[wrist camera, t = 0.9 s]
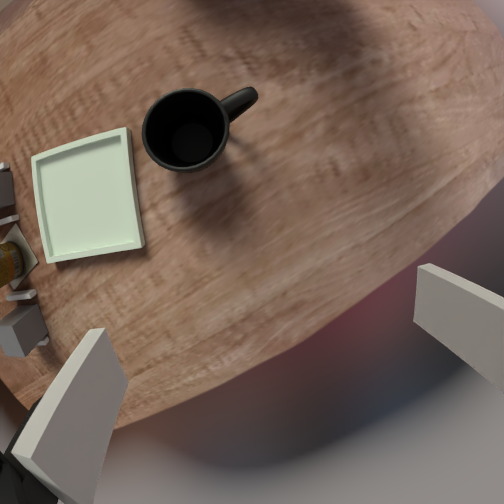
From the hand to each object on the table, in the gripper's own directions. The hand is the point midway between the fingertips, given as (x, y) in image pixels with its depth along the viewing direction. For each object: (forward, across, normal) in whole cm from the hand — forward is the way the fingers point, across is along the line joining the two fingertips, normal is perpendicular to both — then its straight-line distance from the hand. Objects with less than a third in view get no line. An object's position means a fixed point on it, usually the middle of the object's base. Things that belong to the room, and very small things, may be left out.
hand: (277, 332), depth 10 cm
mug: (+26, -2, +12) cm, 29 cm away
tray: (+26, -19, +8) cm, 33 cm away
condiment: (+26, -35, +2) cm, 44 cm away
